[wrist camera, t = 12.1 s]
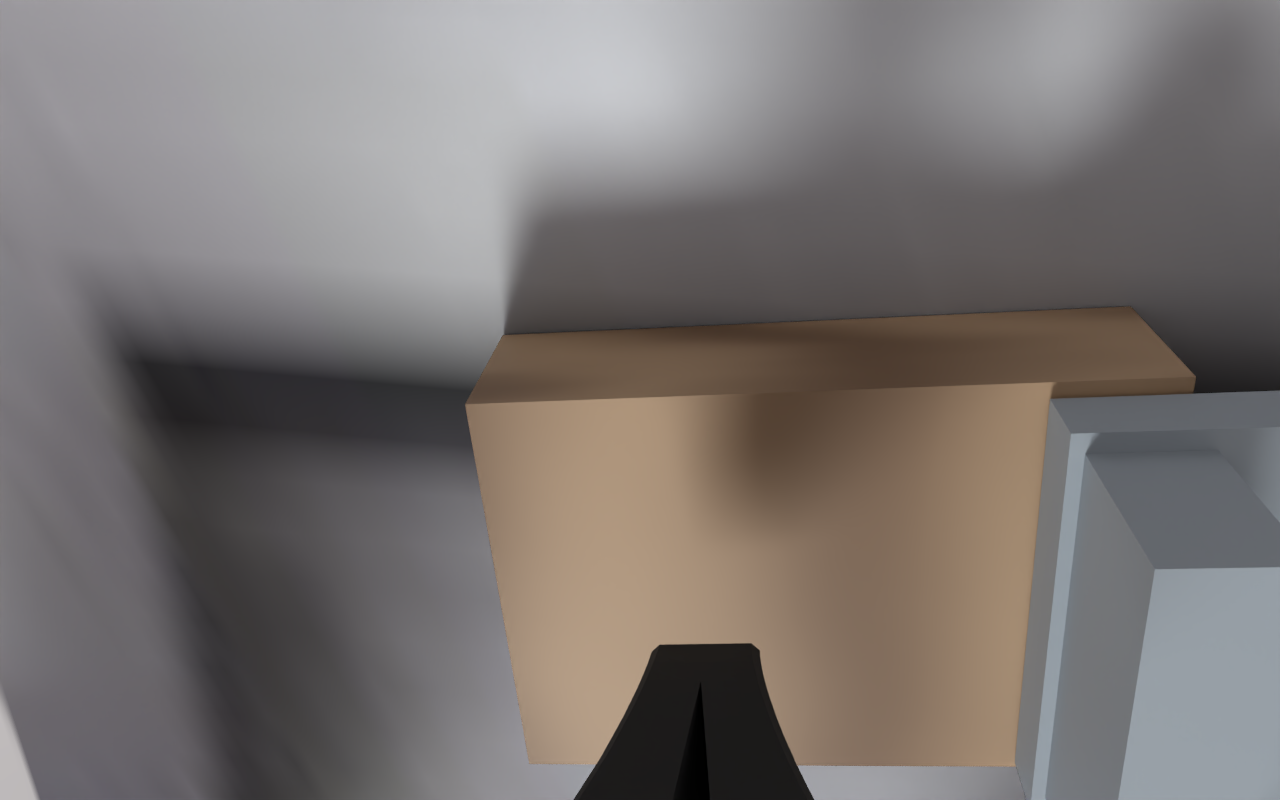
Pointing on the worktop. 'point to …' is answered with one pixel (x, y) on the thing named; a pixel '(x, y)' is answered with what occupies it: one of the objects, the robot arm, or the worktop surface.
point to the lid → (1155, 602)
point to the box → (788, 516)
